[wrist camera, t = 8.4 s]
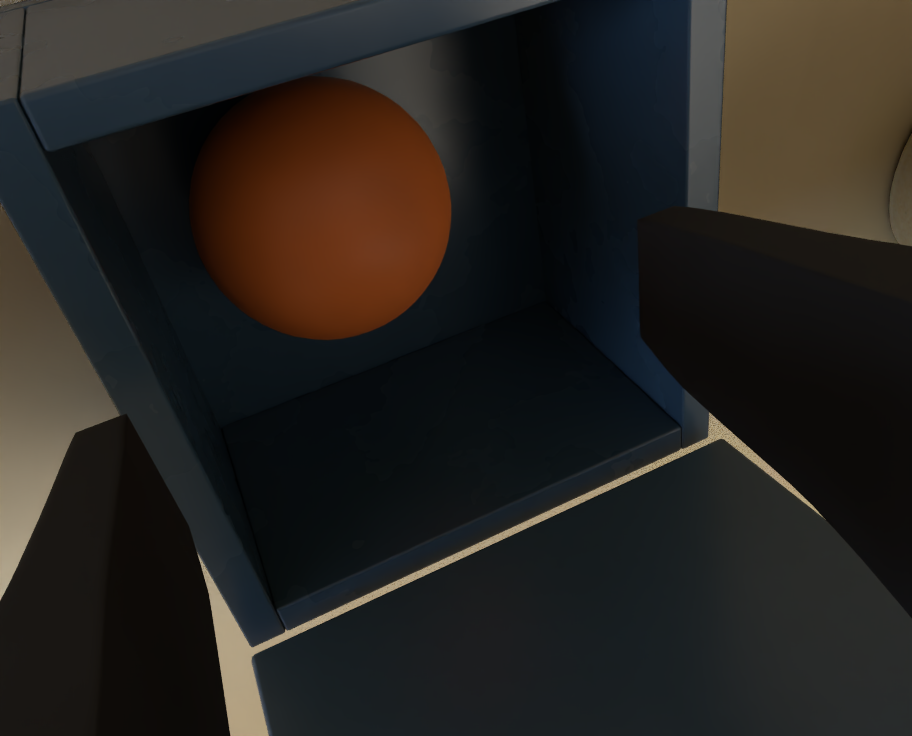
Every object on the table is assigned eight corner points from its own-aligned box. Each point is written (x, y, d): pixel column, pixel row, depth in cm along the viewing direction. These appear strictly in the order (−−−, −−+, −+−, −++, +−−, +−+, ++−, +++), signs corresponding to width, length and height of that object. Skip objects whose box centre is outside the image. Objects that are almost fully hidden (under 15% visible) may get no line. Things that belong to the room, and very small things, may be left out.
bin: (-17, 10, 14) (-51, 116, 9) (515, -125, 16) (733, -104, 11) (198, 442, 20) (251, 648, 15) (557, 300, 23) (709, 438, 17)
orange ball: (219, 305, 18) (270, 427, 14) (131, 91, 15) (165, 175, 11) (416, 233, 19) (510, 329, 15) (370, 21, 16) (472, 76, 12)
